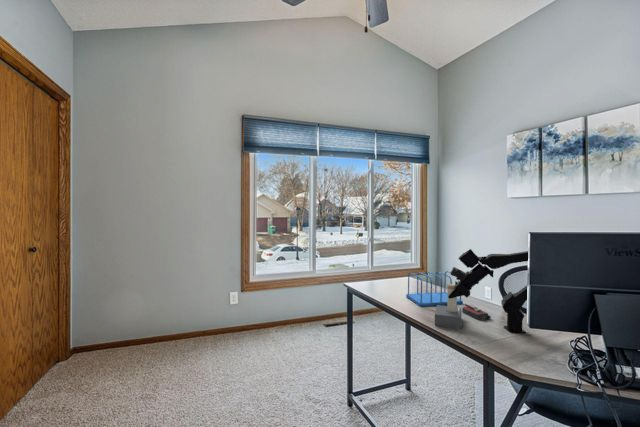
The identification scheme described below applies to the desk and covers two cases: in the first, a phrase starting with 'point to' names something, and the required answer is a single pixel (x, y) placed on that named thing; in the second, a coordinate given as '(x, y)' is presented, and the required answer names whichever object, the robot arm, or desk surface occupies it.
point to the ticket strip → (451, 299)
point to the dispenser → (447, 317)
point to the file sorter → (430, 298)
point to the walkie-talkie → (475, 312)
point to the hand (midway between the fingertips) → (448, 297)
